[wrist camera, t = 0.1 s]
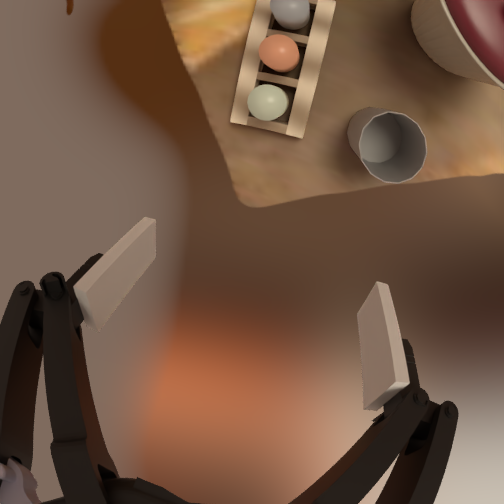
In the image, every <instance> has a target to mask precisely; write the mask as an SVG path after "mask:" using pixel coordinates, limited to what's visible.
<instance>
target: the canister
mask: <svg viewBox="0 0 504 504" xmlns="http://www.w3.org/2000/svg"><path fill="white" fill-rule="evenodd" d="M411 22H412V28H413V32H414V34H415V36H416V39H417V40H418V42H419V44H420V46H421V47H422V48H423V50H424V52H426V53H427V55H428V56H429V57H430V58H431V59H432V60H433V61H434V62H435V63H437V64H438V65H439V66H440V67H442V68H444V69H445V70H446V71H449V72H451V73H453V74H455V75H459V76H462V77H465V78H469V79H472V80H476V81H480V82H484V83H488V84H491V85H495V86H498V87H500V88H502V89H503V90H504V0H415V2H414V4H413V6H412V11H411Z"/></svg>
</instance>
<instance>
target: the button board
mask: <svg viewBox="0 0 504 504" xmlns="http://www.w3.org/2000/svg"><path fill="white" fill-rule="evenodd" d="M270 1H271V0H257V2H256V5H255V9H254V13H253V17H252V22H251V26H250V30H249V34H248V38H247V43H246V47H245V51H244V56H243V61H242V65H241V70H240V75H239V79H238V84H237V89H236V94H235V99H234V104H233V109H232V114H231V120H230V122H233V123H238V124H243V125H248V126H253V127H257V128H262V129H266V130H270V131H275V132H279V133H283V134H287V135H290V136H294V137H298V138H302V139H303V135H304V131H305V127H306V123H307V120H308V116H309V112H310V108H311V104H312V100H313V96H314V92H315V88H316V84H317V80H318V76H319V72H320V68H321V64H322V60H323V56H324V52H325V48H326V43H327V39H328V35H329V31H330V27H331V22H332V18H333V14H334V9H335V5H336V1H332V0H308V1H309V9H312V10H316V11H315V15H314V19H313V23H312V27H311V32H310V36H309V37H307V36H303V35H299V34H294V33H289V32H284V31H278V30H272V26H273V22H274V18H275V17H274V15H273V13H272V11H271V8H270ZM276 34H280V35H285V36H288V37H289V38H291V39H292V40H293V41H294V42H295V43H296V45H298V46H302V47H307V48H306V52H305V57H304V61H303V65H302V69H301V73H300V77H299V80H297V79H292V78H288V77H284V76H279V75H274V74H269V73H264V72H262V69H263V65H264V63H263V62H262V60H261V59H260V57H259V46H260V44H261V42H262V41H263V40H264V39H265V38H267V37H269V36H271V35H276ZM260 80H262V81H267V82H272V83H277V84H282V85H286V86H290V87H295V88H297V90H296V94H295V98H294V102H293V106H292V110H291V114H290V118H289V123H287V122H283V121H279V120H275V119H274V120H270V121H264V120H260V119H258V118H256V117H255V116H253V115H252V113H251V112H250V110H249V108H248V104H247V101H248V96H249V94H250V92H251V91H252V90H253V89H254V88H256V87H258V86H259V83H260Z"/></svg>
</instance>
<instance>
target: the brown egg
mask: <svg viewBox="0 0 504 504" xmlns="http://www.w3.org/2000/svg"><path fill="white" fill-rule="evenodd" d="M259 57H260V59H261V60H262V62H263V63H264V64H266V65H267V66H269V67H270V68H271V69H273V70H275V71H277V72H289V71H291V70H293V69H294V68H296V66H297V65H298V63H299V60H300V55H299V51H298V47H297V45H296V43H295V42H294V41H293V40H292V39H291V38H289V37H288V36H285V35H280V34H276V35H271V36H269V37H267V38H265V39H264V40H263V41H262V42H261V44H260V46H259Z"/></svg>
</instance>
